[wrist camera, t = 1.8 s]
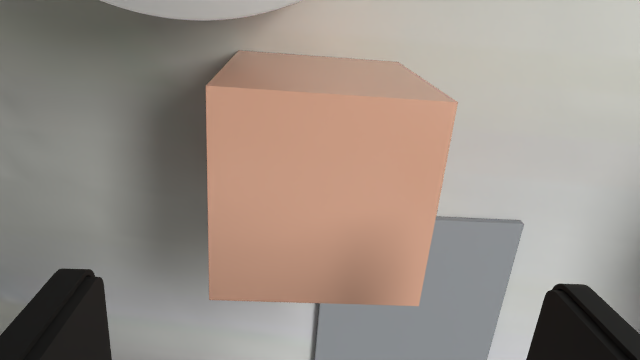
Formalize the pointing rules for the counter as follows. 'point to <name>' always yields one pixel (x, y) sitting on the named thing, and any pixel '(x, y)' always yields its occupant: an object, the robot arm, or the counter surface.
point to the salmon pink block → (322, 179)
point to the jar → (201, 8)
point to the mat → (433, 301)
